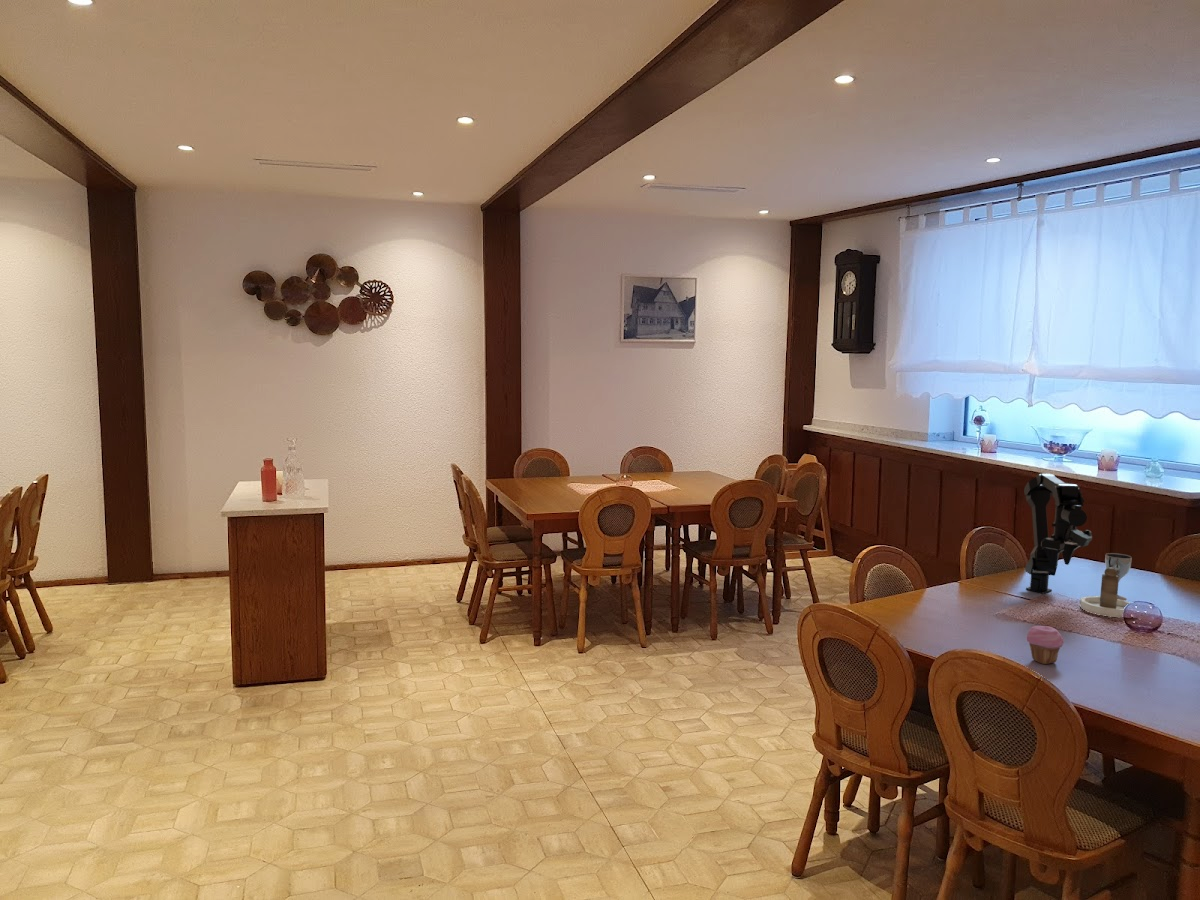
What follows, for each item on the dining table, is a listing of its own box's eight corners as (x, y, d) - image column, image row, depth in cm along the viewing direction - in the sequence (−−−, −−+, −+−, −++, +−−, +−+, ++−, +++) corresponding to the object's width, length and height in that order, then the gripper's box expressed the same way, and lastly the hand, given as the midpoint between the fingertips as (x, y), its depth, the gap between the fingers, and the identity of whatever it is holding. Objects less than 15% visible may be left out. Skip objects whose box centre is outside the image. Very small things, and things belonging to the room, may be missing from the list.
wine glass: (1123, 601, 301) (1127, 559, 299) (1098, 596, 307) (1102, 555, 305) (1131, 598, 306) (1135, 556, 305) (1106, 593, 312) (1110, 552, 310)
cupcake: (1045, 669, 232) (1048, 632, 231) (1017, 658, 240) (1020, 623, 239) (1068, 665, 236) (1071, 629, 235) (1041, 654, 244) (1043, 620, 242)
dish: (1092, 601, 300) (1093, 593, 300) (1144, 613, 288) (1144, 604, 287) (1071, 609, 290) (1072, 601, 290) (1123, 621, 278) (1124, 612, 277)
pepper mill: (1099, 605, 292) (1102, 565, 291) (1116, 607, 290) (1119, 566, 288) (1099, 608, 288) (1102, 567, 286) (1116, 611, 286) (1119, 569, 284)
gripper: (1076, 527, 282) (1072, 574, 283) (1101, 522, 293) (1097, 567, 295) (1041, 522, 290) (1038, 567, 292) (1067, 516, 302) (1063, 561, 303)
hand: (1060, 566), depth 295 cm, fingers open, 9 cm apart
